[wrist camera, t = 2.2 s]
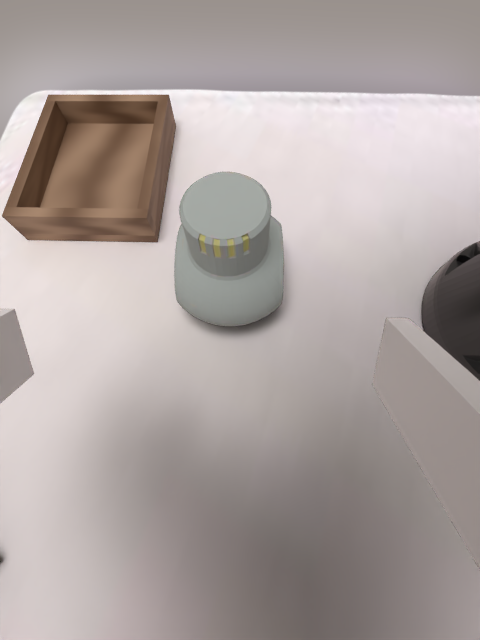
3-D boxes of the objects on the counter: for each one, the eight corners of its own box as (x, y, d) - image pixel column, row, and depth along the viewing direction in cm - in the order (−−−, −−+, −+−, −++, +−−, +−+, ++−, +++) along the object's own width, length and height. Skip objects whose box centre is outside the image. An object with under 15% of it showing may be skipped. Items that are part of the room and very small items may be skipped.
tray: (175, 125, 36) (168, 94, 33) (157, 242, 31) (146, 218, 27) (66, 125, 37) (48, 94, 34) (27, 239, 31) (1, 216, 28)
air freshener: (192, 231, 31) (167, 141, 22) (275, 231, 31) (287, 140, 22) (183, 336, 27) (149, 281, 18) (279, 337, 27) (295, 281, 18)
